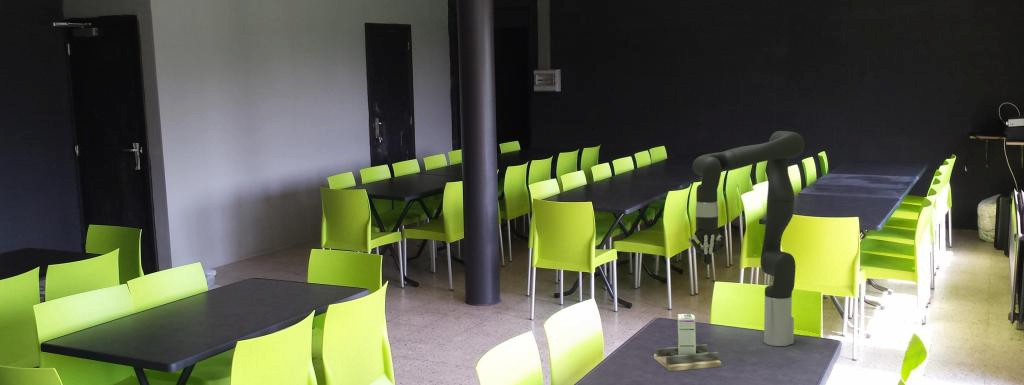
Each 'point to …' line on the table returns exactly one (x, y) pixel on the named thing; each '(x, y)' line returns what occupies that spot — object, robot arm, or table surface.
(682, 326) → the syrup box
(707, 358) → the rail board
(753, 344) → the table surface
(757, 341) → the table surface
